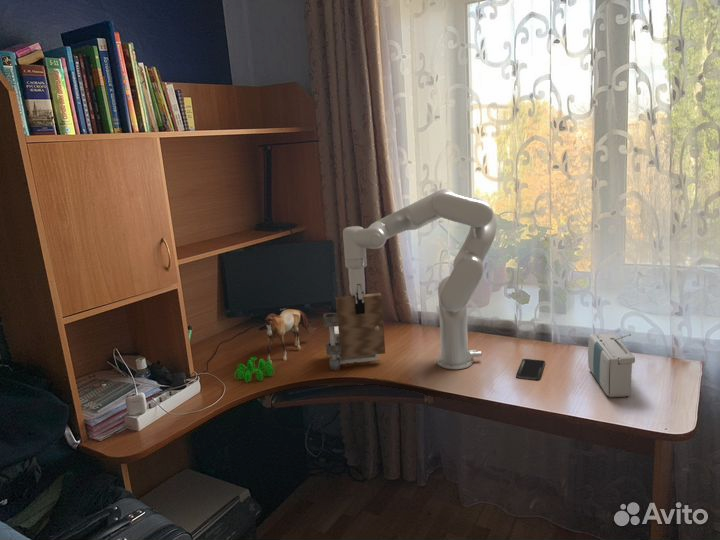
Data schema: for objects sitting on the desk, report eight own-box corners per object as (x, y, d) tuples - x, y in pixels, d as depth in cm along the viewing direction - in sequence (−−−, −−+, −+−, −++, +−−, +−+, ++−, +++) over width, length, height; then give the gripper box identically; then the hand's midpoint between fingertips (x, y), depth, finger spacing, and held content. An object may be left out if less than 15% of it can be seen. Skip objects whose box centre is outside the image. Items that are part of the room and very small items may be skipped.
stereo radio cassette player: (586, 370, 192) (588, 313, 187) (612, 369, 191) (614, 312, 186) (605, 399, 172) (607, 337, 167) (634, 399, 171) (637, 336, 166)
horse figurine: (274, 371, 210) (268, 318, 205) (257, 369, 214) (251, 316, 209) (318, 341, 237) (313, 293, 232) (302, 339, 240) (297, 292, 235)
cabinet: (376, 351, 221) (373, 309, 217) (381, 365, 209) (377, 320, 205) (328, 357, 220) (324, 315, 215) (330, 370, 207) (326, 326, 203)
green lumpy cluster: (229, 374, 212) (227, 356, 210) (268, 364, 218) (266, 347, 217) (241, 388, 199) (239, 370, 197) (282, 377, 205) (280, 359, 204)
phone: (515, 376, 190) (522, 358, 203) (515, 379, 191) (522, 361, 204) (540, 378, 187) (546, 360, 200) (540, 381, 187) (546, 363, 200)
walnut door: (383, 349, 212) (379, 292, 207) (385, 354, 207) (381, 296, 202) (326, 355, 210) (321, 297, 205) (327, 361, 205) (322, 302, 200)
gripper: (343, 258, 208) (347, 306, 213) (347, 268, 192) (351, 320, 197) (364, 256, 209) (367, 304, 213) (369, 266, 193) (373, 318, 198)
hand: (359, 311), depth 205 cm, fingers closed on walnut door, 3 cm apart
